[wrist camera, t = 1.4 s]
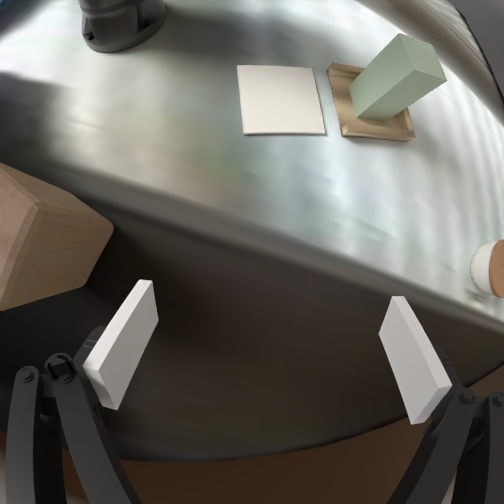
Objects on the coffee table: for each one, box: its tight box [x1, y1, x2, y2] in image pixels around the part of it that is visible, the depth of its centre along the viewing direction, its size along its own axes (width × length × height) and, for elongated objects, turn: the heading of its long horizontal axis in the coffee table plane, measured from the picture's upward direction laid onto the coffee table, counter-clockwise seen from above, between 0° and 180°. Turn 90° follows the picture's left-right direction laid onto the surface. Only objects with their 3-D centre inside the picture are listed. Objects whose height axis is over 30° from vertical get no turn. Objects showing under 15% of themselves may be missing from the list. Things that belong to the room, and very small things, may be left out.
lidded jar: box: [470, 240, 504, 298], centre depth 41 cm, size 11×11×9 cm
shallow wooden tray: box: [327, 63, 415, 142], centre depth 40 cm, size 12×13×2 cm
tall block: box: [349, 33, 447, 121], centre depth 33 cm, size 6×6×16 cm
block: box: [0, 163, 114, 311], centre depth 25 cm, size 10×10×20 cm
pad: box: [237, 65, 325, 135], centre depth 39 cm, size 12×12×1 cm
